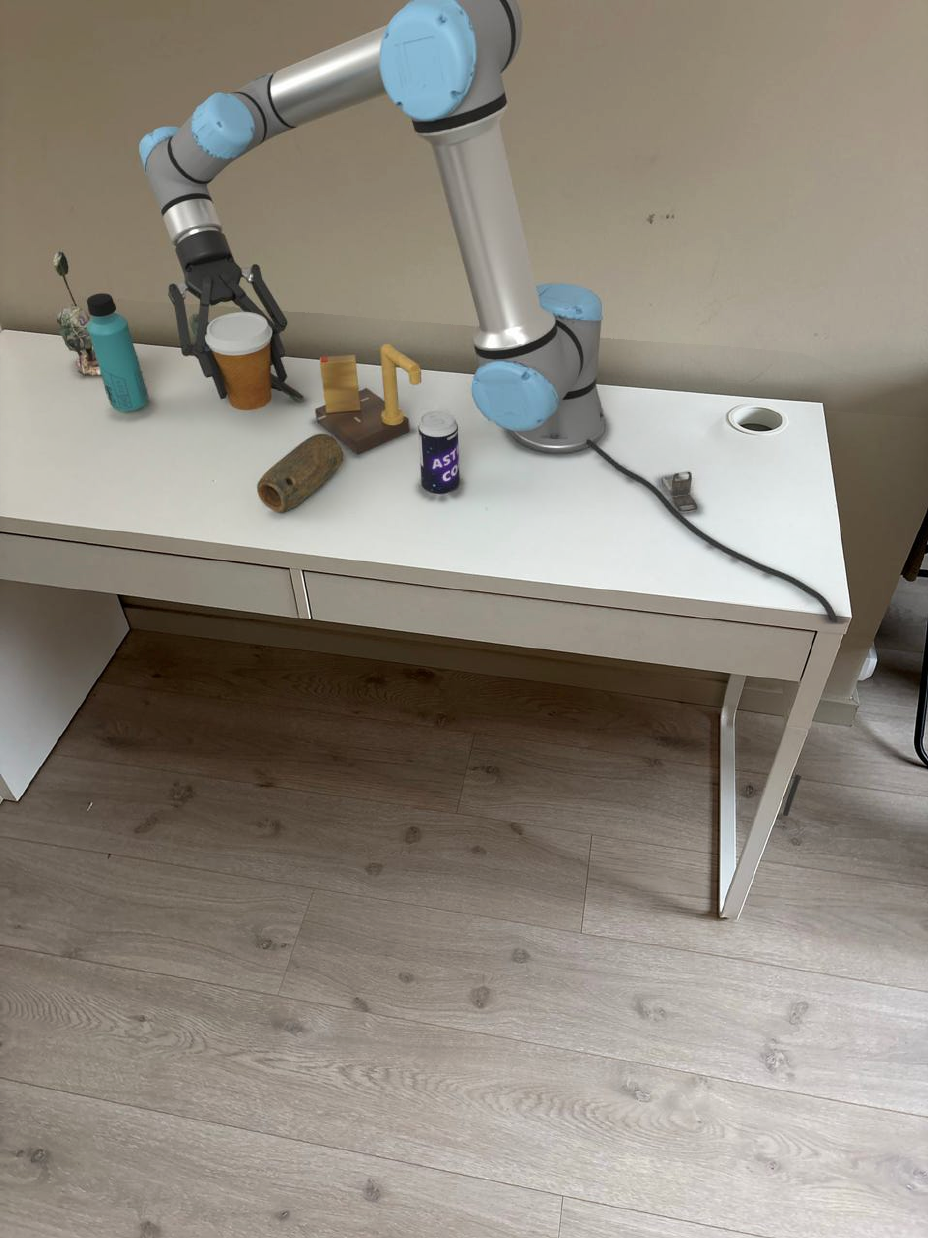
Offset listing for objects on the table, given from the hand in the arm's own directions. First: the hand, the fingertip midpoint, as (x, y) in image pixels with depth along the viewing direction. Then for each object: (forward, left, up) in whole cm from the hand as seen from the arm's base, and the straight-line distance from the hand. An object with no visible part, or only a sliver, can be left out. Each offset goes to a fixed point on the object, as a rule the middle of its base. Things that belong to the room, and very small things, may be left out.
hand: (254, 387), depth 149 cm
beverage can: (-22, -17, -14) cm, 31 cm away
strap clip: (-46, -43, -14) cm, 64 cm away
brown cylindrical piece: (-9, -1, -14) cm, 17 cm away
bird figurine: (+21, -9, -14) cm, 27 cm away
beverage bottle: (+28, +10, -14) cm, 33 cm away
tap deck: (0, -16, -14) cm, 21 cm away
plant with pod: (+45, +9, -14) cm, 48 cm away
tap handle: (+2, -16, -11) cm, 19 cm away
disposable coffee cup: (+3, -1, -4) cm, 5 cm away
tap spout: (-8, -20, -11) cm, 24 cm away
